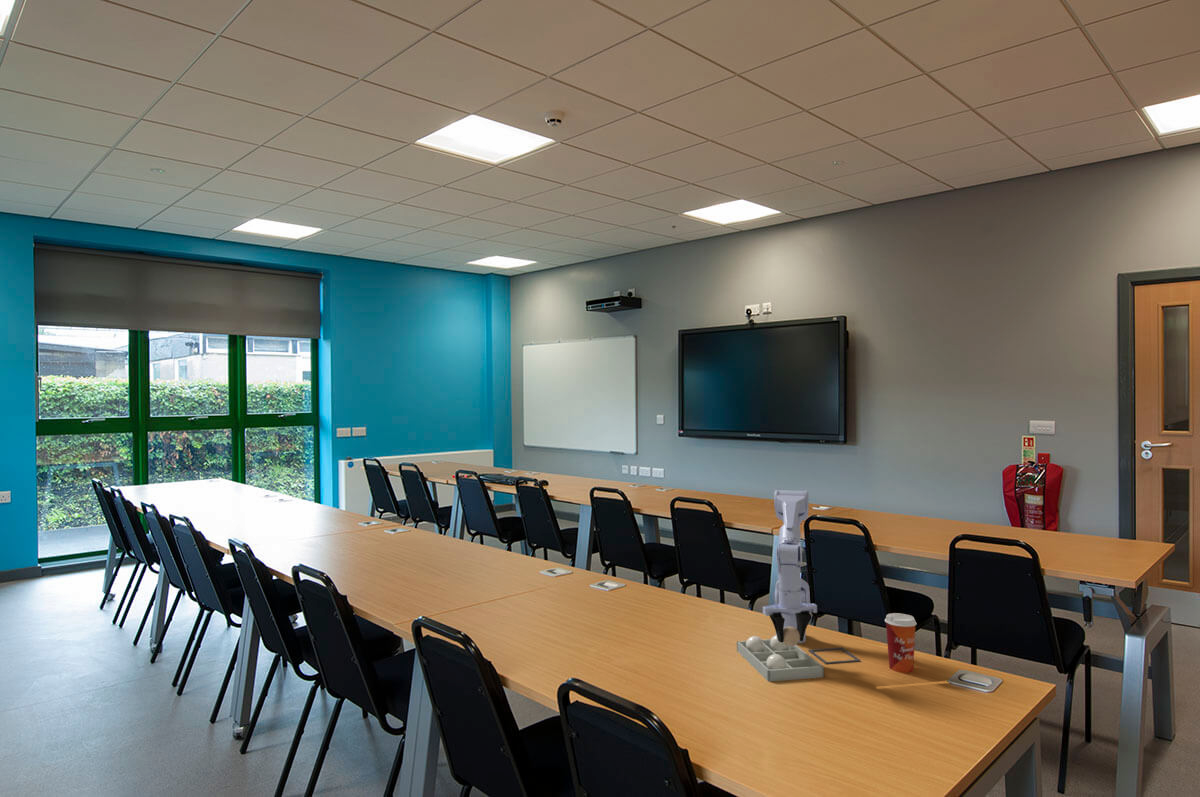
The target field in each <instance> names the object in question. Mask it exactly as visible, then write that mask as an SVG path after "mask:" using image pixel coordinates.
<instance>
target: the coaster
mask: <svg viewBox="0 0 1200 797" xmlns="http://www.w3.org/2000/svg"><path fill="white" fill-rule="evenodd" d="M840 650H841V651H842V652H843V653H845V654H847V655H848V656H849V657H851V658H853V659H848V660H835V661H827V660H825V659H823V657H821V656H819V655H818V654H817V653H815V652H825V651H840ZM808 652H809V653H810V654H812V655H813V656H814V657H815V658H817V659H819V661H821V662H822V663H823V664H824V665H833V664H846V663H848V664H849V663H858V662H859V663H861V662H862V659H859V658H858V657H856V656H855V655H854V654H852V653H851V652H849V651H848V650H846V649H845V648H843V647H832V648H830V647H829V648H818V649H817V648H816V649H815V648H814V649H808Z"/></svg>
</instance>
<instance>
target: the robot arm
mask: <svg viewBox="0 0 1200 797" xmlns="http://www.w3.org/2000/svg"><path fill="white" fill-rule="evenodd" d="M773 495H774V496H773V499H774V500H773V503H774V505H773V506H774V511H775V512H774V513H775V515H776V518H777V519H778V520H781V521H782V523H783V525H781V526H780V528H779V532H778V545H777V546H776V551H775V553H776V554H775V555H776V556H775V557H776V564H777V565H776V566H777V573H778V575H777V576H778V579H777V581H776V583H775V589H774V604H772V605H771V604H770V605H764V606H762V614H763V615H765V617H768V616H769V618H770V619H771V622H772V624H773V627H774V629H775V635H777V638H778V641H780V642H783V640H784V635H783V629H784V628H785V627H788V626H792V627H794V628H796V629H797V630H798V631H799V633H800V641H799V642H798V644H803V643H805V642H806V641H807V638H806V636H807V633H806V632H807V631H806V630H807V627H808V625H809V624H810V622H811V620H812V614H813V613H814V614H816V613H818V605H817V604H816V603H811V599H810V597H811V596H810V585H809V583H808V582H807V581H806V580H804V579H803V578H802V577H801V574H802V573H801V572H802V571H801V566H802V564H803V549H802V548H803V547H802V542H801V540H802V539H801V529H800V527H801V524H802V522H803V521H805V520H807V519H808V516H809V509H810V508H809V502H810V501H809V500H810V499H809V492H808V490H781V489H780V490H779V489H775V491H774V493H773ZM811 613H812V614H811Z"/></svg>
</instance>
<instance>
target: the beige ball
mask: <svg viewBox="0 0 1200 797" xmlns="http://www.w3.org/2000/svg"><path fill="white" fill-rule="evenodd" d="M783 635H784V640H783V642H784V643H785V644H786V645H788V646H795V645H796V646H797V645H798V644H799V643H798V642H799V641H800V633H799V631H798V630H797V629H796V628H794V627H792V626H788V627H785V628H784V629H783Z"/></svg>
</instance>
